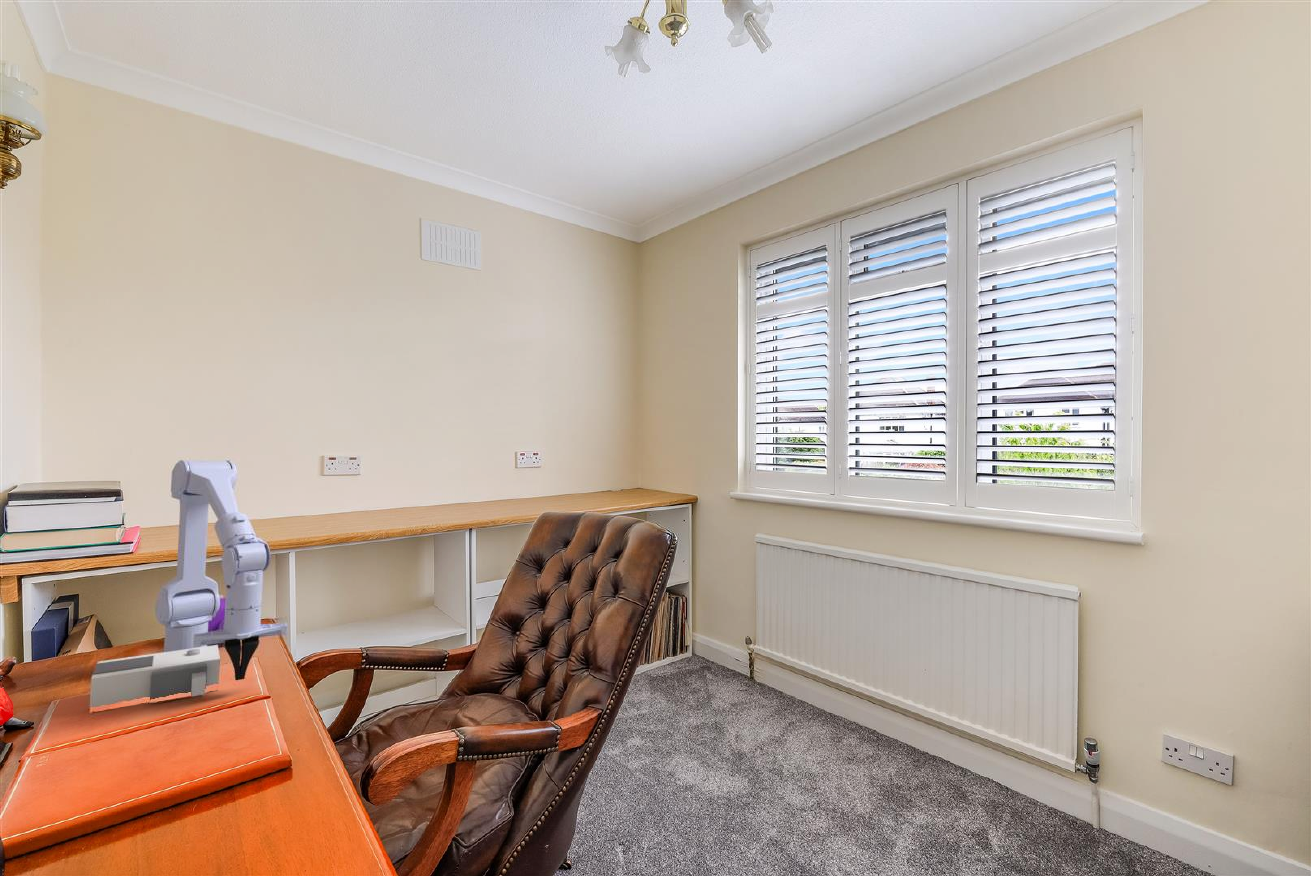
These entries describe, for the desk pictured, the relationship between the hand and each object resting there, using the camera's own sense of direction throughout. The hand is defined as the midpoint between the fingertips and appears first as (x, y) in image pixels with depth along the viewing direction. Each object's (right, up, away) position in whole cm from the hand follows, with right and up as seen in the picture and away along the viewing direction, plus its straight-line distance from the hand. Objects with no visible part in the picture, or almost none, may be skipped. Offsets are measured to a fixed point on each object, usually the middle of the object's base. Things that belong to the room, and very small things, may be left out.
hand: (239, 678), depth 112 cm
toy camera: (-25, -3, +28) cm, 38 cm away
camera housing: (-15, -2, -1) cm, 15 cm away
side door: (-8, -2, -5) cm, 9 cm away
